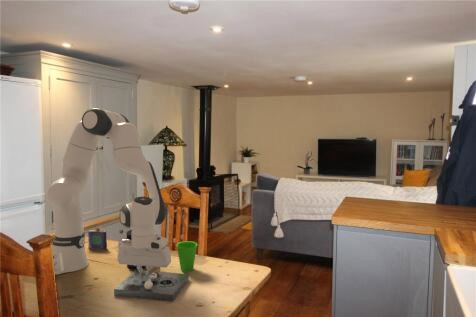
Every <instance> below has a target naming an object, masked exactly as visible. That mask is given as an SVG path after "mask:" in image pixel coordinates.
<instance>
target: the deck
mask: <svg viewBox="0 0 476 317" xmlns="http://www.w3.org/2000/svg"><path fill="white" fill-rule="evenodd" d="M143 271H147V269H143ZM150 274H151V272H150V271H149V275H150ZM189 275H190V274H188V273H179V272H169V271H168V272H167V271H160V272H159V273H158V274H157V280H156V281H153V282H152V281H151V282H152V283H153V286H152V288H151V289H146V288H145V287H144V284H145V282H146V281H150V280H149V276H148V277H140V272H139V271H138V270H133V272H132V273H131V274H130V275H128V276H127V277H126V278H125V279H124V280H123V281H122V282H120V283H119V284H118V285H117V286H116V287H114V288H113V293H114V294H113V296H115V297H122V298H123V297H124V298H134V299H142V300H154V301H161V302H162V301H163V302H172V303H173V301H175V299H176V298H177V296H179V294H180V293H181V291H182V290H183V289H184V287H185V286H186V284H187V283H188V282H189V279H190V276H189Z"/></svg>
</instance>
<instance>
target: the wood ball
mask: <svg viewBox="0 0 476 317" xmlns="http://www.w3.org/2000/svg"><path fill="white" fill-rule="evenodd" d="M150 272H151V273H156V274H158V273H159V272H161V267H151V269H150Z"/></svg>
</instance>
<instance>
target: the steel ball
mask: <svg viewBox="0 0 476 317" xmlns="http://www.w3.org/2000/svg"><path fill="white" fill-rule="evenodd" d="M149 280H150V281H152V282H153V281H156V280H157V274H156V273H151V274H150V275H149Z"/></svg>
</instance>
